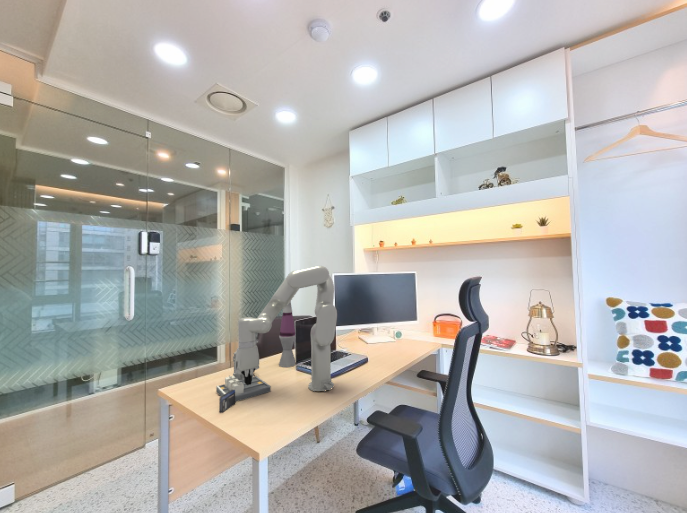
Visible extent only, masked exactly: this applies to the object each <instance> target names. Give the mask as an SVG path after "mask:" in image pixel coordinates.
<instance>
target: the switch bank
mask: <svg viewBox="0 0 687 513" xmlns="http://www.w3.org/2000/svg"><path fill="white" fill-rule="evenodd" d="M240 382H242V383H243V384H244V393H241V394H238V395H235V403H237V402H239V401H240V402H241V401H243V400H247V399H250V398H252V397H253V398H254V397H257V396H260V395H264V394H266V393H269V392H272V390H271V389H272V388H271V385H270V384H268V383H267V382H265V381H264V380H263V379H262V378H260V377H259V376H253V377H252V382H251V385H250V384H249V385H247V384H246V383H245V382H244V379H243V380H239V383H240ZM215 389H216V391H215V392H216V393H217V394H218V395H219V397H221V396H223V395H224V394H226V393H227V392H229V391H230V390H229V387H228V388H226V387H225V383H223V384H221V385H216V388H215Z"/></svg>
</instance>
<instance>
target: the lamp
mask: <svg viewBox="0 0 687 513" xmlns="http://www.w3.org/2000/svg"><path fill="white" fill-rule="evenodd" d="M281 316H282V317H281V322H280V329H279V330H280V331H279V335H278V337H279V340H280V344H281V347H282V352H281V356H280V359H279V362H278V366H279V367H280V366H281V368H291V367H290V366H292V367H294V365H295V361H296V358H295V354H294V351H293V346H294V343H295V340H296V337H295V334H296V330H295V329H296V327H295V322H294V321H295V320H294V316H293V309H292V300H291V301H290V303H289V304H288V305H287V306H286V307H285V308H283V309H282V315H281ZM295 366H296V365H295Z"/></svg>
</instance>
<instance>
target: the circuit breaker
mask: <svg viewBox="0 0 687 513" xmlns="http://www.w3.org/2000/svg"><path fill="white" fill-rule="evenodd" d="M235 361H236V351H235V352H233V356H232V362H233V372H232V376H234V377H235V379H238V380H243V379H244V375H243V374H237V373H236V370H237V369H236V368H235ZM247 373H248V370H247ZM252 377H254V374H253V375H252Z"/></svg>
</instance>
